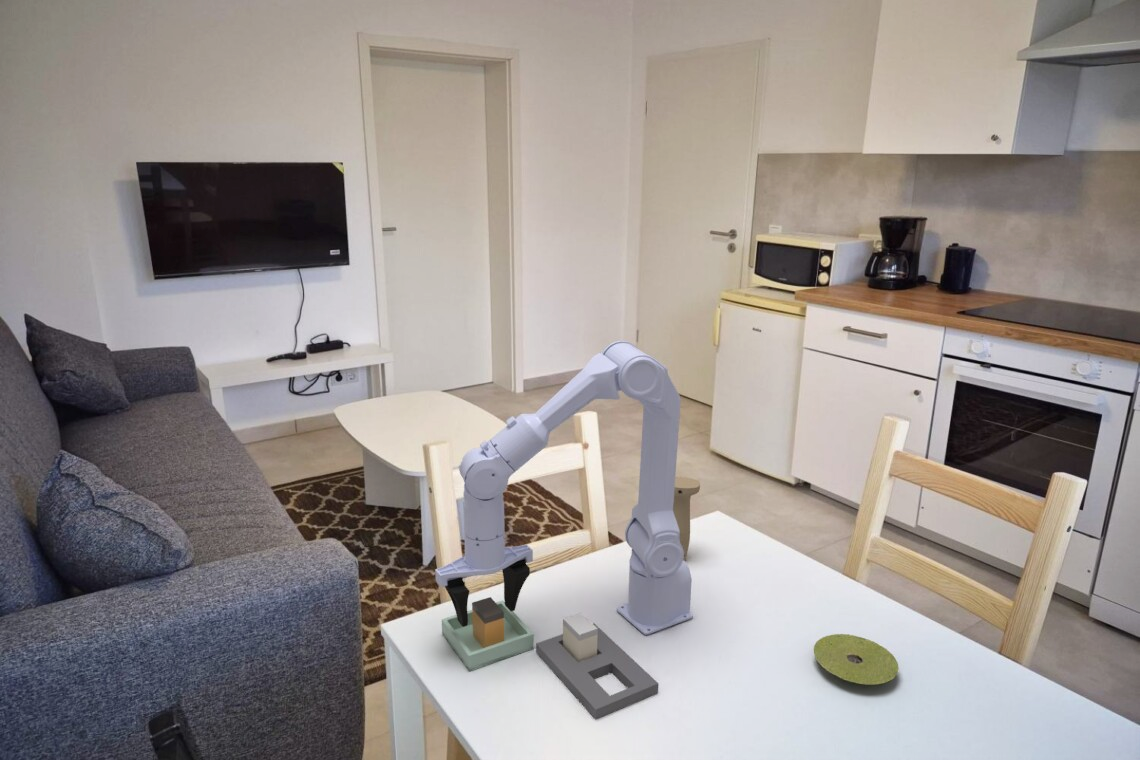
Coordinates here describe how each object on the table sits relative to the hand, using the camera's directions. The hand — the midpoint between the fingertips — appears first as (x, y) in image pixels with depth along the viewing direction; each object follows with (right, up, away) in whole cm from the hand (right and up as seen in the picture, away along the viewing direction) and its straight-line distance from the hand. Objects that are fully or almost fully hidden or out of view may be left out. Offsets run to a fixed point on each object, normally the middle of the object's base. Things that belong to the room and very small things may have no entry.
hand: (486, 615), depth 110 cm
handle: (+32, +2, +25) cm, 41 cm away
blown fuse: (0, -4, +1) cm, 4 cm away
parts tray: (0, -4, +1) cm, 4 cm away
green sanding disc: (+52, -6, -4) cm, 53 cm away
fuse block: (+16, -6, -5) cm, 18 cm away
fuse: (+14, -5, -2) cm, 15 cm away
